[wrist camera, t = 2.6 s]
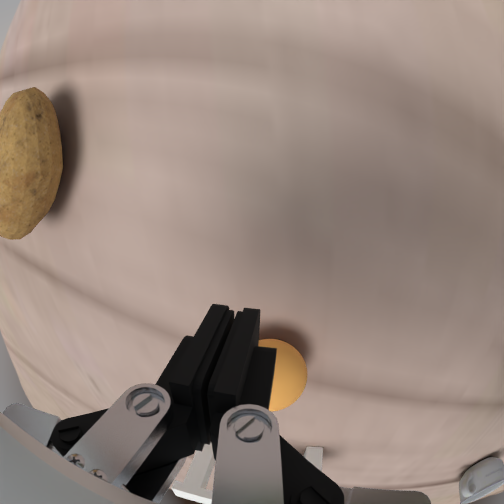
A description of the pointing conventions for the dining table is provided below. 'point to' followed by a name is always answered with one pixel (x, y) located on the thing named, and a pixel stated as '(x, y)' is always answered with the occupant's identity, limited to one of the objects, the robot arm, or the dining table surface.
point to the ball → (286, 374)
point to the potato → (28, 161)
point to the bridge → (203, 467)
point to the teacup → (481, 479)
